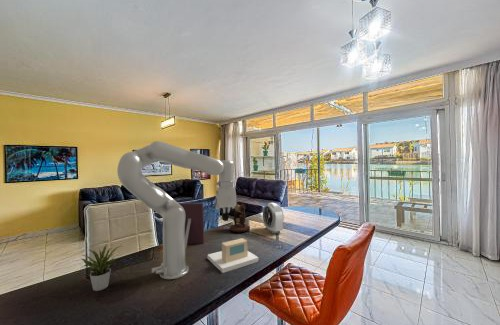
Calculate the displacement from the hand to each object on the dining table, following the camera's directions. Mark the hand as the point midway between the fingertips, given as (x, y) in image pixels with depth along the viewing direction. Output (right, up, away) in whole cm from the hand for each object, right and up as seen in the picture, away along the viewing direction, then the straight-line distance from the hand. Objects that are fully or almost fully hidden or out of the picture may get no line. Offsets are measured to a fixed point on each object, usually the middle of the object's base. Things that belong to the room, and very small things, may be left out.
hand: (225, 220), depth 112 cm
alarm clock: (+29, -20, +45) cm, 57 cm away
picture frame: (-25, -21, +20) cm, 38 cm away
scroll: (+5, -20, +47) cm, 52 cm away
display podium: (+4, -20, 0) cm, 21 cm away
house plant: (-48, -21, -21) cm, 57 cm away
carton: (+4, -14, 0) cm, 15 cm away
